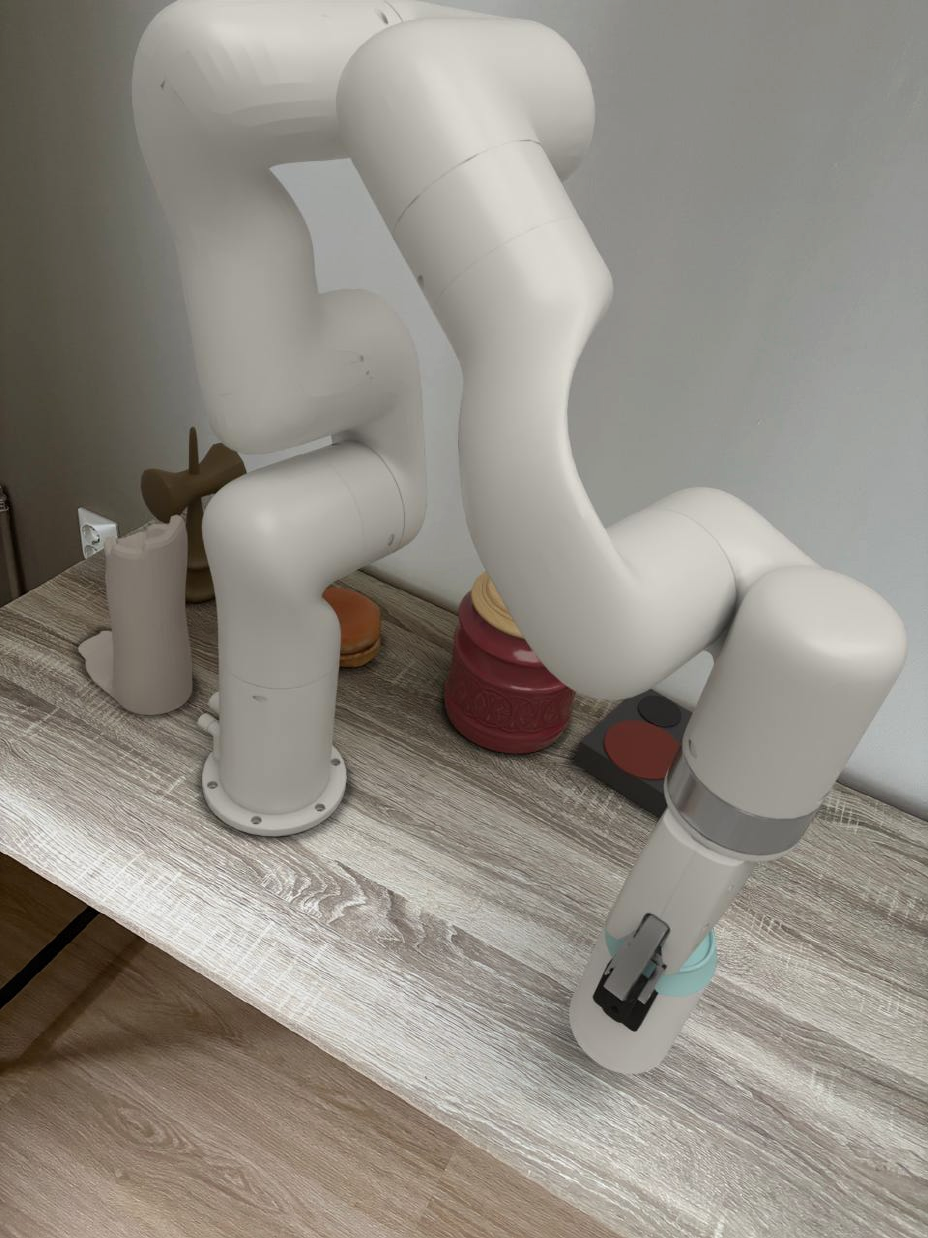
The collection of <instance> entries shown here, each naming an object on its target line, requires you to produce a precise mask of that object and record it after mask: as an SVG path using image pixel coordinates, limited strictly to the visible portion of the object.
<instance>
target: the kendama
mask: <svg viewBox="0 0 928 1238" xmlns="http://www.w3.org/2000/svg"><path fill="white" fill-rule="evenodd" d="M199 457H200V456H199V442H198V434H197V429H196V427H195V426H191V427H190V428H189V434H188V469H185V470H181V471H177V472H172V471H167V470H164V469H161V468H146V469H144V470H143V472H142V474H141V476H140V490H141V491H140V492H141V496H142V499H143V501H144V504H145V506H146V508H147V510H149V512H150V514H151V515H153V516H154V517H155V518H156V519H157V520H158V521H159V522H161V523H162V524H170V520H171V517H172V516H175V515H179V516H181V515H182V514H183V513H184V511H185V510H186V516H185V517H186V518H185V526H186V531H187V540H188V556H187V573H186V587H185V601H188V602H192V603H198V602H205V601H208V600H211V599H213V598H214V597H215V591H214V585H213V580H212V576H211V571H210V567H209V564H208V560H207V556H206V552H205V548H204V542H203V536H202V519H203V515H204V508H203V500H202V498H204V497H207V496H211V495H215V494H216V493H217V492H218V491H219V490H220V489H221V488H222V487H224V486H225V485H226V484H228V483H229V482H231V481H233V480H235V479H236V478H238V477H240V476H242V475H244V474H246V473H248V472H247V468H246V465H245V463H244V460H243V459H242V457H241V456H240V454H239V452H235V451H233V450H231V449H229V448H228V447H226V446H225V445H224V444H223V443H222V442H217V443H213V444H212V445H211V446H210V448H209V450H207V452H206V454H205V455H204V457H203V458H202V459H201V461H199V460H200V459H199Z"/></svg>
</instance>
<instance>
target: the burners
mask: <svg viewBox="0 0 928 1238" xmlns="http://www.w3.org/2000/svg"><path fill="white" fill-rule="evenodd" d="M667 698H668V697H666V698H664V697H661V696H647V697H644V698H643V699H641V700H640V702H639V704H638V711H639V713H640V715H641V716H642V717H643V718H644V719H645V720H646V721H647V722H649V723H646V722H642V721H624V722H620V723H617V724H615V725H614V726H612V727H611V728H610V729H609V730H608V731H607V733H606V735H605V738H604V747H605V751H606V753H607V755H608V757H609V758H610V760H611V761H612V762H613V763H614V764H615V765H616V766H617V767H618V768H620V769H621V770H623V771H624V772H626V773H628V774H630V775H632V776H635V777H638V778H642V779H647V780H661V779H665V776H666V773H667V771H668V769H669V766H670V764H671V762H672V760H673V758H674V755H675V753H676V751H677V748H678V746H679V744H678V743H677V741H676V740H675V739H674V738H673V737H672V736H671V735H670V734H669V733H667V732H666V731H665V730H663V729H661V728H659V727H673V726H675V725H677V724H678V723H679V722H680V720H681V718H682V714H681V710H680V709H679V707H678V706H677V705H676V704H675V703H676V702H675V701H673V700H671V699H670V698H668V699H667ZM669 699H670V700H669ZM672 701H673V702H672ZM674 702H675V703H674ZM650 723H651V724H650ZM658 726H659V727H658Z"/></svg>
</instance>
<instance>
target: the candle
mask: <svg viewBox="0 0 928 1238" xmlns="http://www.w3.org/2000/svg"><path fill="white" fill-rule="evenodd" d="M185 525H186V521H185V520H184V518H183V517H182V516H181V515H180V516H179V515H175V516H172V517H171V520H170V523H154V524H153V523H152V524H150V525H149V526H147V528H146V530H144V531H138V532H136V533H134V534H133V533H132V534H131V535H128V536H125V537H122V538H116V537H115V536H113V535H111V536H108V537H105V539H104V542H103V551H104V557H105V573H104V581H105V591H106V601H107V607H108V614H109V621H110V627H111V630H101V631H100V632H99V633H98V634H96V635H94V636H91V637H89V638H87V639H86V640H84V641H83V642H82V643H80V645H78V647H77V651H78V652H79V653H80V654H81V657H83V658H84V660H85V671H86V672H87V674H88V676H89V677H90V679H91V680H92V682H93V683H94V684H95V685H97V686H98V687H99V688H100V689H101V690H102V691H104V692H105V693H106V694H107V695H109V696H110V697H111V698H112V699H114V700H115V701H116V702H117V704H119V705H120V706H121V707H122V708H123V709H124V710H127V711H129V712H131V713H134V714H138V715H145V716H154V715H155V716H156V715H163V714H167V713H169V712H173V711H175V710H177V709H179V708H180V707H182V706H183V705H184V704H186V703H187V702H188V700H189V699H190V698H191V696H192V693H193V663H192V662H193V660H192V659H193V658H192V649H191V648H192V647H191V642H190V635H189V628H188V622H187V614H186V600H185V587H186V573H187V556H188V540H187V531H186V526H185Z"/></svg>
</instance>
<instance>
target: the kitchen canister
mask: <svg viewBox="0 0 928 1238" xmlns="http://www.w3.org/2000/svg"><path fill="white" fill-rule="evenodd" d="M457 614H458V615H457V617H458V621H459V622H458V624H457V625H456V628H455V630H454V634H453V648H452V654H451V659H450V665H449V671H448V673H447V675H446V679H445V681H444V682H445V683H444V689H443V697H444V707H445V712H446V716H447V717H448V719H449V721H450V723H451V724H452V725H453V727H454V728H455V729H456V730H457V731H458V732H459V733H460V734H461V735H462V736H463V737H465V738H466V739H467V740H469V741H471V742H472V743H475V745H478V746H480V747H483V748H485V749H488V750H491V751H493V752H499V753H503V754H528V753H533V752H538V751H540V750H543V749H545V748H547V747H550V746H551V745H552V744H554V743H555V742H557V740H558V739H560V737H561V736H562V734H563V733H564V731H565V729H566V728H567V727H568V725H569V723H570V721H571V717H572V714H573V711H574V702H575V701H574V700H575V698H576V693H577V692H576V691H574V690H572V689H571V688H569V687H568V686H566V685H565V684H563V683H562V682H561V681H560V680H559V679H557V678H556V677H555V676H554V675H553V674H552V673H551V672H550V671H549V670H548V669H547V668H546V667H545V666H544V664H543V663H542V662H541V661H540V660H539V658H538V657H537V656H536V655H535V653H534V652H533V651H532V649H531V648H530V646H529V645H528V643H527V642H526V640H525V639H524V637H523V636H522V634H521V633H520V631H519V629H518V627H517V626H516V624H515V622H514V621H513V619H512V617H511V616H510V614H509V612H508V610H507V609H506V607H505V605H504V603H503V601H502V599H501V598H500V596H499V594H498V592H497V590H496V588H495V587H494V585H493V583H492V581H491V579H490V577H489V576H488V574H487V572H486V570H485V571H484V572H482V573H480V574H479V576H477V577H476V579H475V580H474V582H473V583H472V586H471V589H470V590H469V591H468V592H466V594H465V595H464V596H463V597H462V599H461V600H460V603H459V606H458V612H457Z"/></svg>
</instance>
